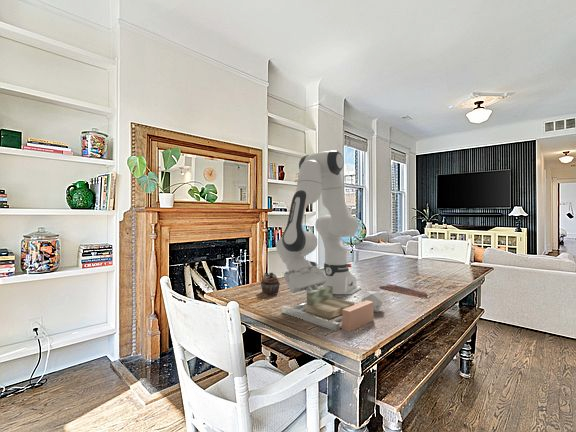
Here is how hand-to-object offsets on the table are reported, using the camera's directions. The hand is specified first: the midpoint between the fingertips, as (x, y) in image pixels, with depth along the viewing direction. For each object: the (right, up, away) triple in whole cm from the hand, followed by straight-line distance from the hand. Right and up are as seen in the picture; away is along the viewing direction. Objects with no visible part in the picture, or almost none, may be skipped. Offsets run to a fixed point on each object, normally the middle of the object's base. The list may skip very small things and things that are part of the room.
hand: (317, 296), depth 129 cm
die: (+23, -7, +3) cm, 24 cm away
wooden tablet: (+48, -7, +33) cm, 59 cm away
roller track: (+3, -6, -3) cm, 8 cm away
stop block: (+14, -7, -14) cm, 21 cm away
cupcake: (-21, -6, +29) cm, 36 cm away
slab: (+5, -4, -5) cm, 8 cm away
